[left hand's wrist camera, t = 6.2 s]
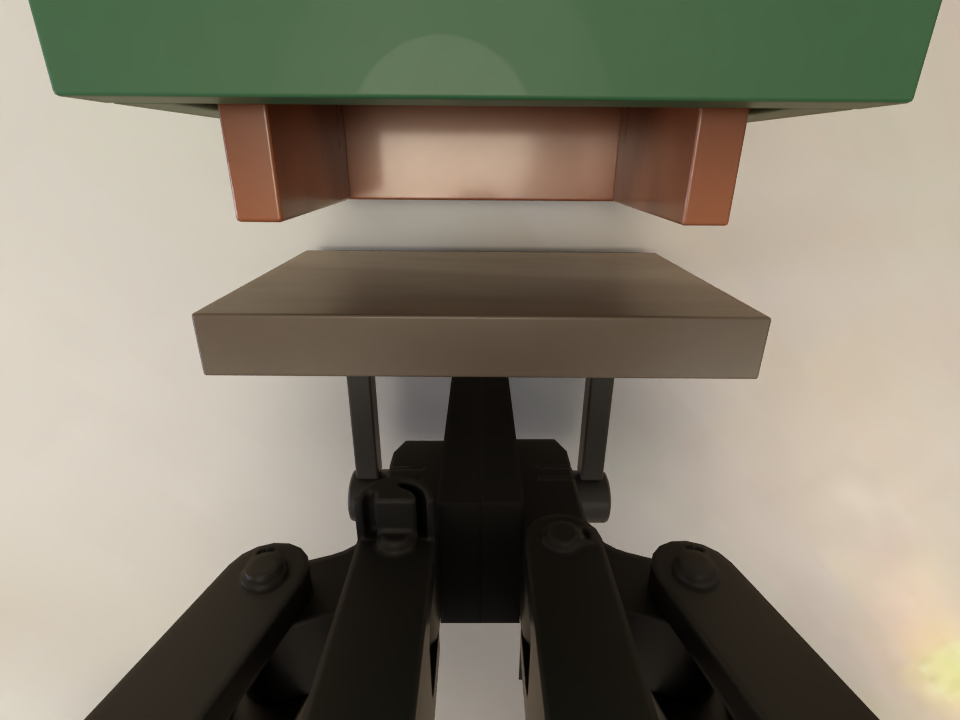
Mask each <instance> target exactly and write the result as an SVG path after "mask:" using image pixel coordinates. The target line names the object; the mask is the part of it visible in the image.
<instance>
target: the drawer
mask: <svg viewBox="0 0 960 720" xmlns="http://www.w3.org/2000/svg"><path fill="white" fill-rule="evenodd" d="M218 109H219V115H220V121H221V127H222V133H223V139H224V145H225V151H226V157H227V163H228V169H229V175H230V181H231V187H232V193H233V199H234V205H235V211H236V217H237V220H238V221H241V222H282V221H285V220H288V219H291V218H294V217H297V216H300V215H303V214H306V213H309V212H312V211H315V210H318V209H321V208H324V207H327V206H330V205H333V204H336V203H339V202H342V201H345V200H348V199H395V200H524V201H615V202H618V203H621V204H623V205H626V206H629V207H632V208H635V209H638V210H641V211H644V212H647V213H650V214H652V215H655V216H658V217H661V218H664V219H667V220H670V221H673V222H676V223H679V224H682V225H709V226H725V225H727V224H728V221H729V215H730V210H731V205H732V199H733V194H734V188H735V183H736V178H737V172H738V167H739V161H740V156H741V151H742V145H743V140H744V134H745V129H746V124H747V118H748V113H749V108H679V107H560V106H440V105H320V104H218ZM192 320H193V324H194V329H195V334H196V339H197V343H198V348H199V353H200V357H201V362H202V367H203V371H204V374H205V375H262V376H347V384H348V394H349V404H350V415H351V425H352V435H353V445H354V455H355V465H356V470H355V471H354V472H353V475H352V477H351V481H350V485H349V493H348V509H349V515H350V518H351V520H353V521H356V518H355V509H354V498H355V497H356V495H357V494H358V492H359V491H360V490H361V489H363V488H364V487H366V486H367V485H368V484H370V483H372V482H375V481H378V480H380V479H383V478H387V474H388V471H389V469H381V468H382V463H381V450H380V437H379V424H378V410H377V397H376V384H375V376H412V377H561V378H586V382H585V393H584V404H583V414H582V425H581V436H580V446H579V457H578V470H572V472H573V475H574V479H575V482H576V485H577V489H578V492H579V496H580V499H581V502H582V506H583V509H584V513H585V516H586V520H587V522H588V523H604V522H606V521H607V520H608V518H609V515H610V508H611V495H610V487H609V482H608V479H607V476H606V474H605V472H603V469H604V461H605V452H606V444H607V435H608V426H609V418H610V409H611V401H612V392H613V383H614V378H711V379H756V378H757V377H758V374H759V370H760V366H761V361H762V357H763V353H764V348H765V344H766V340H767V335H768V331H769V327H770V323H771V318H770V317H768V316H766V315H764V314H763V313H761V312H759V311H757V310H755V309H754V308H752V307H750V306H748V305H746V304H745V303H743V302H741V301H739V300H738V299H736V298H734V297H732V296H730V295H729V294H727V293H725V292H723V291H722V290H720V289H718V288H716V287H714V286H713V285H711V284H709V283H707V282H705V281H704V280H702V279H700V278H698V277H697V276H695V275H693V274H691V273H689V272H688V271H686V270H684V269H682V268H680V267H679V266H677V265H675V264H673V263H672V262H670V261H668V260H666V259H664V258H663V257H661V256H659V255H657V254H655V253H576V252H442V251H308V250H307V251H305V252H303V253H302V254H300V255H298V256H296V257H294V258H293V259H291V260H289V261H287V262H285V263H283V264H282V265H280V266H278V267H276V268H274V269H273V270H271V271H269V272H267V273H265V274H264V275H262V276H260V277H258V278H256V279H254V280H253V281H251V282H249V283H247V284H245V285H244V286H242V287H240V288H238V289H236V290H235V291H233V292H231V293H229V294H227V295H226V296H224V297H222V298H220V299H218V300H216V301H215V302H213V303H211V304H209V305H207V306H206V307H204V308H202V309H200V310H198V311H197V312H195V313H193V314H192Z"/></svg>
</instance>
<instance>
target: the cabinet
mask: <svg viewBox="0 0 960 720" xmlns="http://www.w3.org/2000/svg"><path fill="white" fill-rule="evenodd" d="M941 2H942V0H29V4H30V8H31V11H32V15H33V19H34V22H35V26H36V30H37V33H38V37H39V41H40V44H41V48H42V52H43V55H44V59H45V63H46V66H47V70H48V74H49V77H50V81H51V85H52V88H53V91H54V93H55V94H56V95H58V96H62V97H69V98H77V99H84V100H91V101H98V102H105V103H115V104H121V105H128V106H135V107H142V108H150V109H157V110H164V111H171V112H178V113H185V114H192V115H199V116H206V117H213V118H220V115H219V109H218V104H320V105H440V106H560V107H679V108H749V113H748V118H747V122H755V121H763V120H771V119H780V118H788V117H796V116H804V115H812V114H821V113H829V112H837V111H845V110H852V109H864V108H872V107H880V106H888V105H897V104H905V103H908V102H911V101H912V100H913V98H914V94H915V91H916V88H917V84H918V81H919V77H920V74H921V70H922V67H923V64H924V60H925V57H926V53H927V50H928V46H929V43H930V40H931V36H932V33H933V29H934V26H935V22H936V19H937V16H938V12H939V9H940V5H941Z"/></svg>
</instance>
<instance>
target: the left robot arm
mask: <svg viewBox="0 0 960 720" xmlns="http://www.w3.org/2000/svg"><path fill="white" fill-rule="evenodd" d="M354 509H355V518H356V527H357V536H358V541H357V544H356V545H355V546H353V547H351V548H349V549H347V550H345V551H342V552H339V553H336V554H333V555H329V556H325V557H321V558H317V559H313V560H309V561H308V556H307V555H306V554H305V552H304V551H303V550H302V549H301V548H299V547H297V546H294V545H292V544H289V543H272V544H268V545H264V546H259V547H256V548H254V549H252V550H250V551H248V552H246V553H244V554H242V555H241V556H240V557H238V558H237V559H236V560H235V561H233V562H232V563H231V564H230V565H229V566H228V567H227V568H226V569H225V570H224V571H223V572H222V573H221V574H220V575H219V576H218V577H217V578H216V579H215V581H214V582H213V583H212V584H211V585H210V586H209V587H208V588H207V589H206V590H205V591H204V592H203V593H202V594H201V595H200V597H199V598H198V599H197V600H196V601H195V602H194V603H193V604H192V605H191V606H190V607H189V608H188V609H187V610H186V611H185V613H184V614H183V615H182V616H181V617H180V618H179V619H178V620H177V621H176V622H175V623H174V624H173V625H172V626H171V628H170V629H169V630H168V631H167V632H166V633H165V634H164V635H163V636H162V637H161V638H160V639H159V640H158V641H157V642H156V644H155V645H154V646H153V647H152V648H151V649H150V650H149V651H148V652H147V653H146V654H145V655H144V656H143V657H142V658H141V660H140V661H139V662H138V663H137V664H136V665H135V666H134V667H133V668H132V669H131V670H130V671H129V672H128V673H127V674H126V676H125V677H124V678H123V679H122V680H121V681H120V682H119V683H118V684H117V685H116V686H115V687H114V688H113V689H112V691H111V692H110V693H109V694H108V695H107V696H106V697H105V698H104V699H103V700H102V701H101V702H100V703H99V704H98V705H97V707H96V708H95V709H94V710H93V711H92V712H91V713H90V714H89V715H88V716H87V717H86V718H85V719H84V720H434V718H435V705H436V692H437V679H438V667H439V654H440V642H439V626H440V621H441V623H520V621H521V642H520V666H519V680H523V692H524V704H525V717H526V720H879V719H878V718H877V717H876V715H875V714H874V713H873V712H872V711H871V710H870V709H869V708H868V707H867V706H866V705H865V704H864V703H863V702H862V701H861V700H860V698H859V697H858V696H857V695H856V694H855V693H854V692H853V691H852V690H851V689H850V688H849V687H848V686H847V685H846V684H845V683H844V682H843V680H842V679H841V678H840V677H839V676H838V675H837V674H836V673H835V672H834V671H833V670H832V669H831V668H830V667H829V666H828V665H827V663H826V662H825V661H824V660H823V659H822V658H821V657H820V656H819V655H818V654H817V653H816V652H815V651H814V650H813V649H812V648H811V647H810V645H809V644H808V643H807V642H806V641H805V640H804V639H803V638H802V637H801V636H800V635H799V634H798V633H797V632H796V631H795V630H794V628H793V627H792V626H791V625H790V624H789V623H788V622H787V621H786V620H785V619H784V618H783V617H782V616H781V615H780V614H779V613H778V612H777V610H776V609H775V608H774V607H773V606H772V605H771V604H770V603H769V602H768V601H767V600H766V599H765V598H764V597H763V596H762V595H761V593H760V592H759V591H758V590H757V589H756V588H755V587H754V586H753V585H752V584H751V583H750V582H749V581H748V580H747V579H746V578H745V577H744V575H743V574H742V573H741V572H740V571H739V570H738V569H737V568H736V567H735V566H734V565H733V564H732V563H731V562H730V561H729V560H727V559H726V558H725V557H724V556H723V555H721V554H720V553H719V552H717V551H715V550H713V549H711V548H709V547H706V546H704V545H702V544H697V543H693V542H688V541H671V542H669V543H666V544H664V545H661V546H659V547H658V549H657V550H656V551H655V552H654V553H653V556H652V558H647V557H643V556H639V555H635V554H631V553H627V552H624V551H621V550H618V549H615V548H614V547H612V546H610V545H608V544H606V543H604V542H603V540H602V538H601V536H600V535H599V533H598V531H597V530H596V529H595V528H594V527H593V526H591V525H590V524H589V523H588V522H587V520H586V516H585V513H584V509H583V506H582V502H581V499H580V496H579V492H578V489H577V485H576V482H575V479H574V475H573V472H572V468H571V465H570V461H569V458H568V455H567V451H566V450H565V449H564V448H563V447H562V446H561V445H560V444H559V443H558V442H557V441H556V440H554V439H516V434H515V426H514V419H513V411H512V403H511V395H510V387H509V379H508V377H452V381H451V389H450V397H449V405H448V412H447V420H446V428H445V436H444V441H405V442H404V443H403V444H402V445H401V446H400V447H399V448H398V449H397V450H396V451H395V452H394V454H393V457H392V461H391V464H390V469H389V471H388V474H387V478H383V479H380V480H378V481H375V482H372V483H370V484H368V485H367V486H366V487H364V488H363V489H361V490H360V491H359V492H358V494H357V495H356V497H355V498H354Z"/></svg>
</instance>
